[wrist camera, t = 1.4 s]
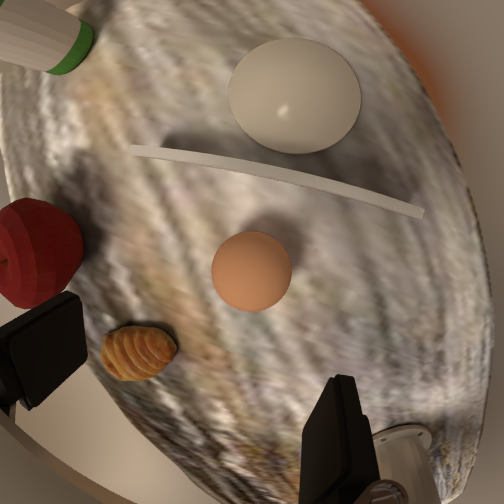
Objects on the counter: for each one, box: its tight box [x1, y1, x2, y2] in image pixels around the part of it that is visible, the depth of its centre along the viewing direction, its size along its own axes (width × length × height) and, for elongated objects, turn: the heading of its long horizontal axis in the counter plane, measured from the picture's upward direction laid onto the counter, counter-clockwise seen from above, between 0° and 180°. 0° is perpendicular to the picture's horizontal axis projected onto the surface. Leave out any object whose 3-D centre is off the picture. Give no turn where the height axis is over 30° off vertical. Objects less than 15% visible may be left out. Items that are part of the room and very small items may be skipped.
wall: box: [129, 145, 425, 220], centre depth 20 cm, size 22×1×4 cm, turn 78°
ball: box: [211, 231, 292, 312], centre depth 21 cm, size 6×6×6 cm
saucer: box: [228, 38, 361, 154], centre depth 20 cm, size 11×11×1 cm
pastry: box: [100, 325, 177, 381], centre depth 26 cm, size 9×7×4 cm
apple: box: [0, 198, 84, 309], centre depth 21 cm, size 11×11×12 cm
